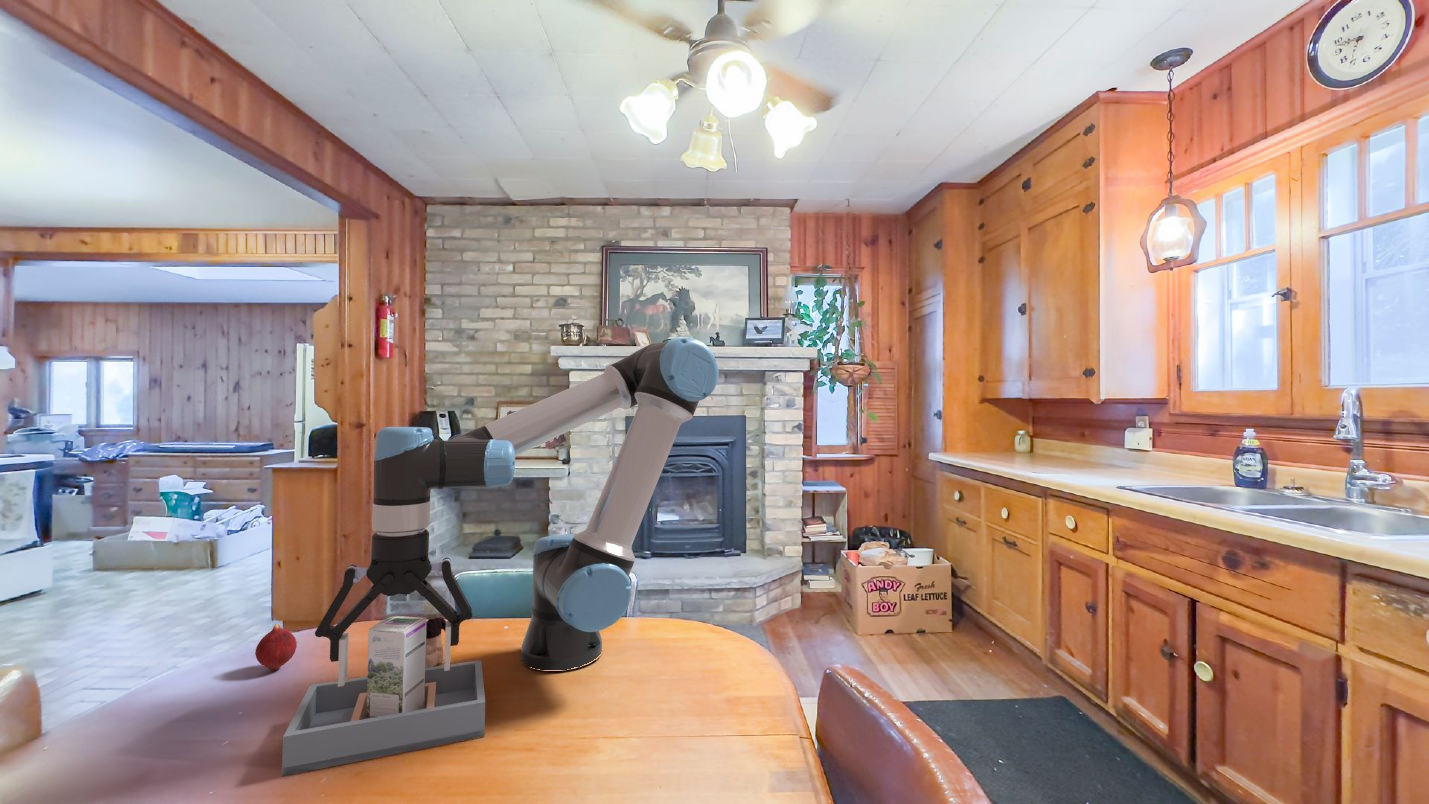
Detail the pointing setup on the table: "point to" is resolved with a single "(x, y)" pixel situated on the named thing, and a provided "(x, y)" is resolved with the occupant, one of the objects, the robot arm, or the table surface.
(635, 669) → the table surface
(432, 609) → the grandmother figurine
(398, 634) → the syrup box
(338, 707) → the walled box
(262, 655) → the onion
